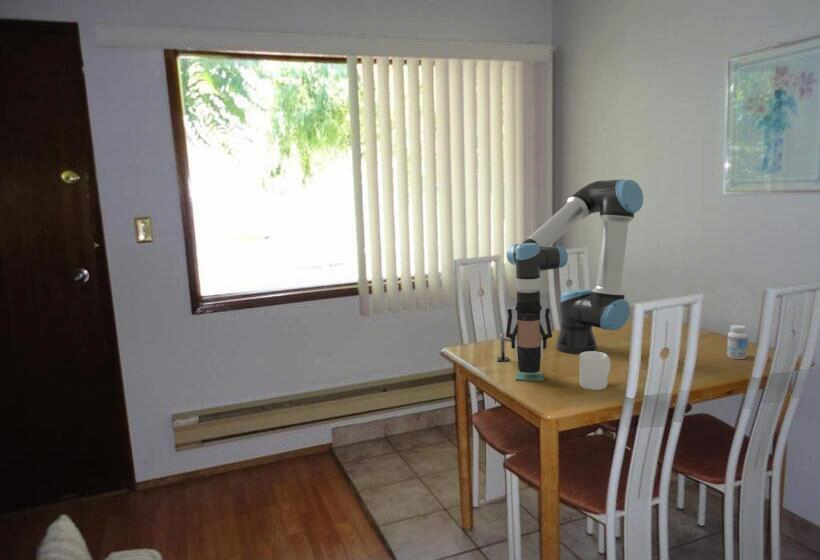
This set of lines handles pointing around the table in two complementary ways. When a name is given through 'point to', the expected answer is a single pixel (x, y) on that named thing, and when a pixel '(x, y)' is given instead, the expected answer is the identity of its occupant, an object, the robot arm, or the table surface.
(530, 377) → the coaster
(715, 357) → the table surface
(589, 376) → the cup
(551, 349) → the table surface
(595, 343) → the robot arm
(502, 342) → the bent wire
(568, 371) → the table surface
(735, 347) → the pill bottle
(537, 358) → the travel mug
